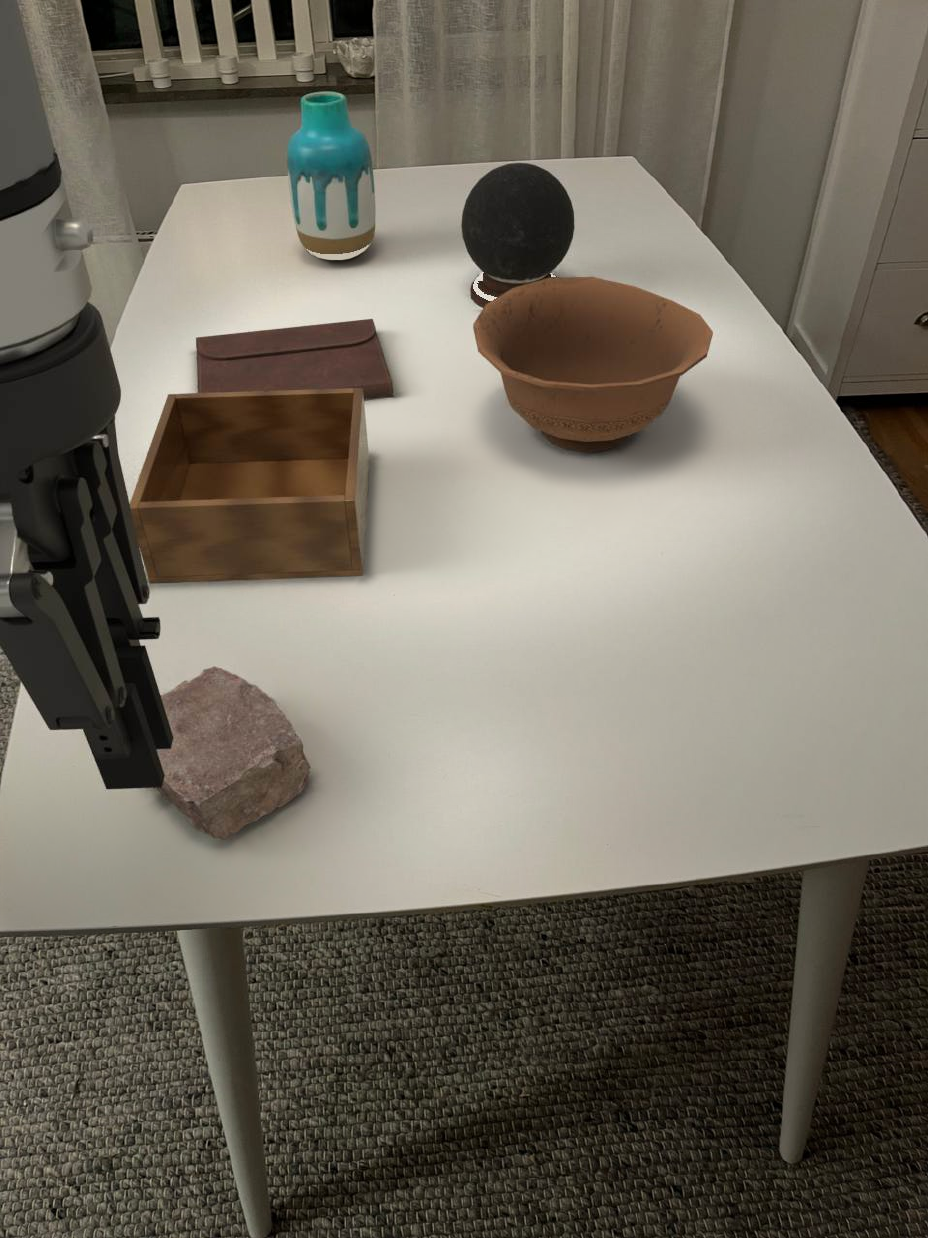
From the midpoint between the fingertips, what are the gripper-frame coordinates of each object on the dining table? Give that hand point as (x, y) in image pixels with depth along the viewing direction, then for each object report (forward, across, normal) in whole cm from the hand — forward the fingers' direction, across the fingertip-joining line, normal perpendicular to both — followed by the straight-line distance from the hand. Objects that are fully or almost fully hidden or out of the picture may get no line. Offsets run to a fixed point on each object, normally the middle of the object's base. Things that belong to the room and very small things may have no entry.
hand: (140, 762), depth 51 cm
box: (+14, +40, 0) cm, 43 cm away
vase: (+15, +98, -3) cm, 99 cm away
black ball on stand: (+15, +85, -26) cm, 90 cm away
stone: (+15, +12, 0) cm, 19 cm away
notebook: (+15, +66, 0) cm, 68 cm away
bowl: (+15, +54, -30) cm, 63 cm away
